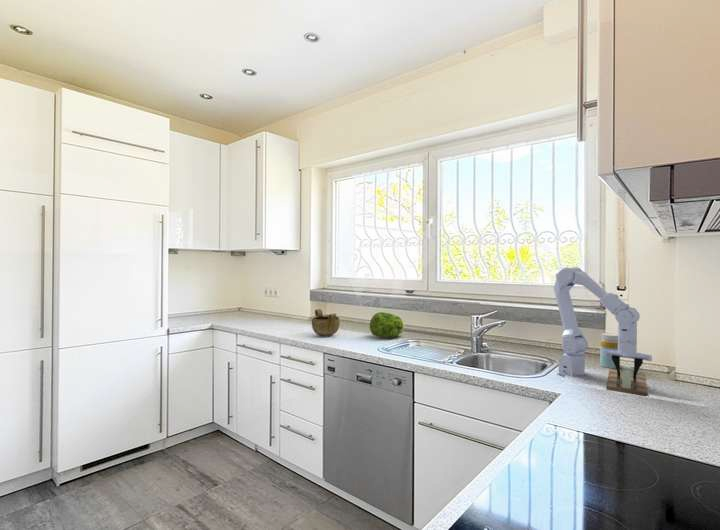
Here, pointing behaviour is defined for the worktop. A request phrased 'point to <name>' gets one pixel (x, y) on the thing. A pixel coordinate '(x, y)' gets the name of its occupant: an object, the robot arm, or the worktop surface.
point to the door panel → (626, 376)
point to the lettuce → (386, 325)
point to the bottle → (608, 344)
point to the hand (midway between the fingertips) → (626, 377)
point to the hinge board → (636, 384)
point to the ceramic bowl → (325, 324)
